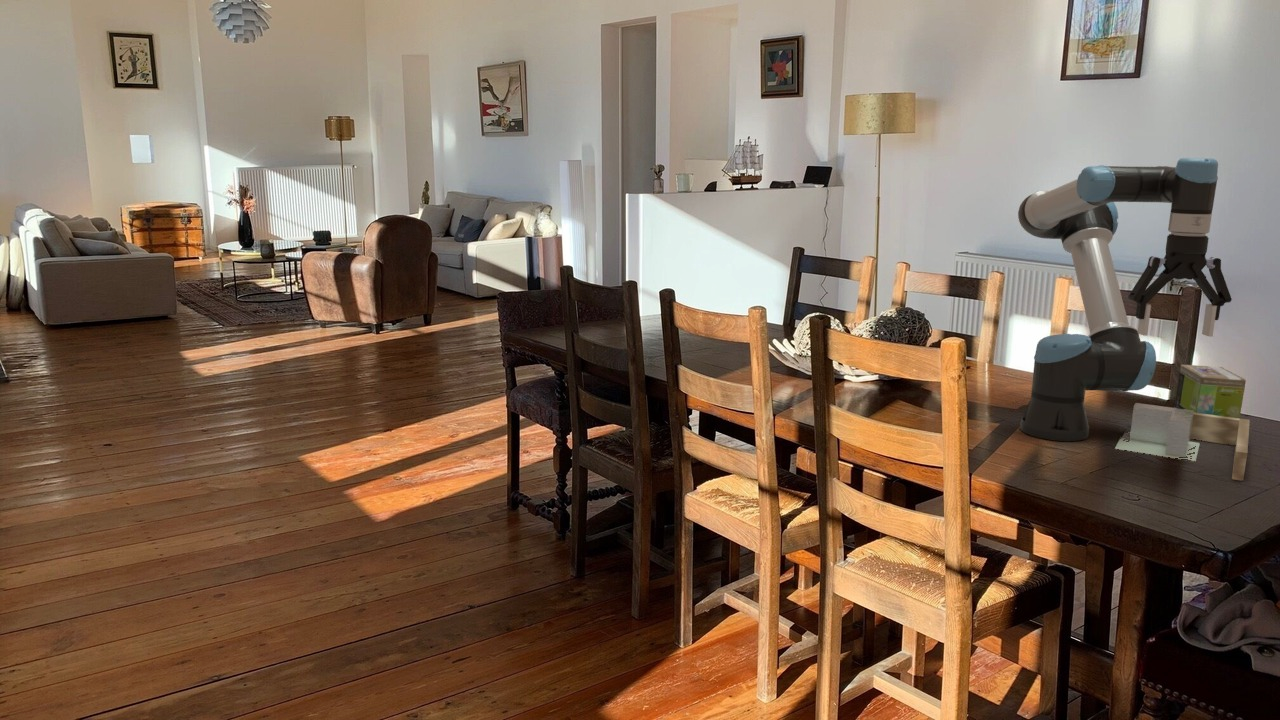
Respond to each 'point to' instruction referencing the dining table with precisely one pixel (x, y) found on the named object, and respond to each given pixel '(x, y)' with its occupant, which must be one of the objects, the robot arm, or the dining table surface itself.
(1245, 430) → the wooden corner fence
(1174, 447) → the bracket
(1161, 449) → the mat
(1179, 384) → the tea box
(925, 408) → the dining table surface
